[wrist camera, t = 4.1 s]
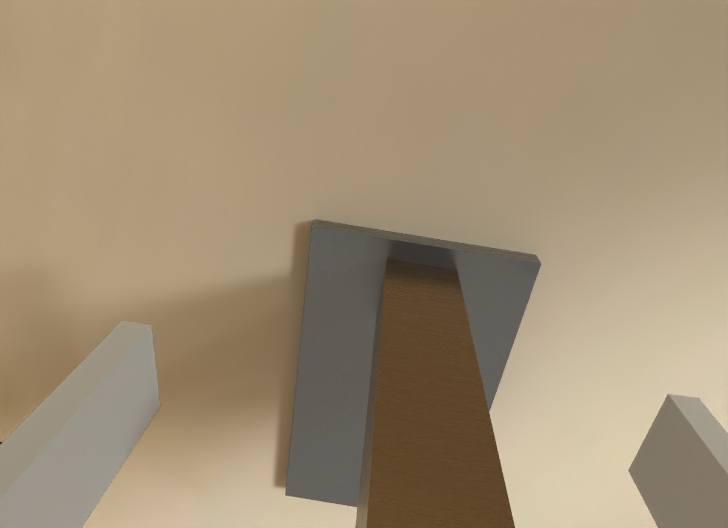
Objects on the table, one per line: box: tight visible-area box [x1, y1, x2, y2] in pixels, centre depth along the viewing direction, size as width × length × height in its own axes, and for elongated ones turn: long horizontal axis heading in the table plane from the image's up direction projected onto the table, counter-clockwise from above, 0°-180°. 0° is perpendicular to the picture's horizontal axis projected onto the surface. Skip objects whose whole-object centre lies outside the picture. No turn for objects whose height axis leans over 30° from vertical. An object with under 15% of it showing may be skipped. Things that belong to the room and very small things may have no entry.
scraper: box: [285, 219, 541, 528], centre depth 14 cm, size 14×8×13 cm, turn 172°
